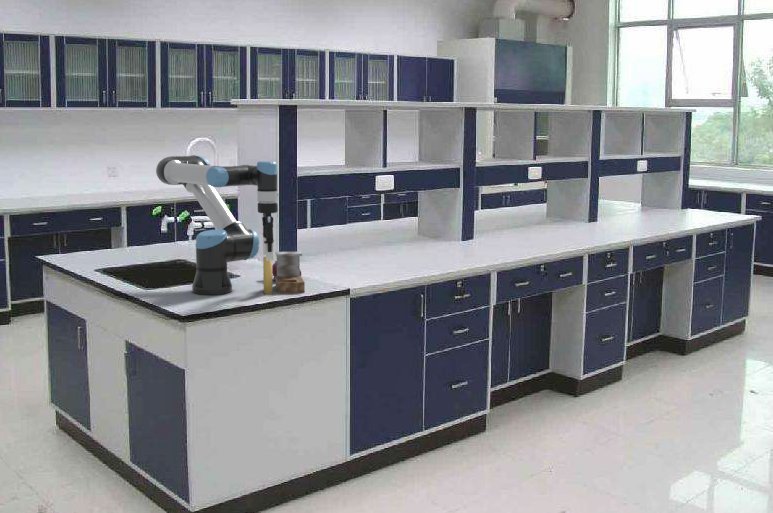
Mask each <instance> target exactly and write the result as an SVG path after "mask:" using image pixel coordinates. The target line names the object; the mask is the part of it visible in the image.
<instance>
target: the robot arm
mask: <svg viewBox="0 0 773 513" xmlns="http://www.w3.org/2000/svg"><path fill="white" fill-rule="evenodd" d="M187 161H188V164H187ZM155 171H156V172H155V173H156V176H157V178H158V179H159V181H160V182H162V183H163V184H166V185H168V186H169V185H171V186H179V185H181V186H182V185H183V187H184V188H185V190H186V192H187V193H189V194H190V193H191V194H193V196H194V197H195V199H196V200H197V201H198V203H199V205H200V207H201V208H202V209H203V211H204V212H205V215H206V216H207V217H208V219H209V220H210V222H211V224H213V225H212V226H214V228H215V229H207V230H204V231H200V233H198V234H197V235H196V237H195V253H196V254H195V256H196V257H195V258H196V259H195V260H196V262H195V264H196V265H195V267H196V272H195V276H194V280H193V282H192V285H191V286H192V288H191V289H192V290H191V291H192V293H193V294H196V295H202V296H203V295H204V296H205V295H206V296H214V295H215V296H216V295H217V296H218V295H224V294H229V293H231V292H232V291H233V284H232V281H231V279H230V276H229V273H228V272H229V271H228V263H230V262H231V263H233V262H237V261H248V260H250V259H253V258H255V257H256V256H257V255H258V253H259V250H260V237H259V236H258V235H259V234H258V233H257V231H255V230H254V229H250V228H249V229H248V228H247V227H246V226H245V225H244V223H243V222H241V221H237V219H236V217H234V214H232V212H231V210H230V208H228V205H227V204H226V203H225V201H224V200H223V198H222V197H221V195H220V194H219V192H218V191H217V189H216V188H225V187H238V186H239V187H240V186H241V187H242V186H256V188H257V190H256V195H257V196H256V197H257V198H256V201H257V202H258V203H257V213H258V214H262V217H261V218H262V219H261V220H262V238H263V239H262V240H263V241H262V245H263V249H262V250H263V251H262V252H263V256H265V257H266V261H272V262H273V261H274V242H275V241H274V217H273V216H272V214H277V213H278V211H279V209H278V203H277V202H278V197H279V196H280V194H279V193H278V173H279V172H278V165H277V162H276V161H272V160H260V161H258V162H257V163H256V165H252V164H251V165H249V164H241V165H232V166H231V165H230V166H222V165H221V166H220V165H212V164H211V163H210V161H209V160H208V159H207V158H206V157H204V156H201V155H194V154H192V155H185V156H184V155H183V156H180V155H178V156H177V155H175V156H167V157H164V158H163V159H161V160H160V161H159V162H158V163H157V166H156V168H155Z"/></svg>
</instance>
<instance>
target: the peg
mask: <svg viewBox="0 0 773 513" xmlns="http://www.w3.org/2000/svg"><path fill="white" fill-rule="evenodd" d="M262 258H263V260H262V261H263V262H262V264H263V267H262V268H263V270H262V271H263V275H262V276H263V294H264V293H265V294H266V295H271V294H273V276H272V275H273V274H272V265H273V260H272V261H266V256H263V257H262Z"/></svg>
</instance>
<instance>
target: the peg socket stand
mask: <svg viewBox="0 0 773 513" xmlns="http://www.w3.org/2000/svg"><path fill="white" fill-rule="evenodd" d="M274 253H275V256H276V261H277V276H276V280H275V287H276V290H277V292H278V294H294V293H295V294H296V293H299V294H300V293H305V285H306V284H305V280H304V279H303V277H302V274H301V275H300V270H301V268H300V263H301V262H300V257H302V256H303V253H302V251H275V252H274Z"/></svg>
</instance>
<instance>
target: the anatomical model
mask: <svg viewBox="0 0 773 513" xmlns="http://www.w3.org/2000/svg"><path fill="white" fill-rule="evenodd" d="M300 275H301V276H302V271H301V269H300ZM276 276H277V260H275V261H274V263H272V280H273V281H276Z"/></svg>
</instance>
